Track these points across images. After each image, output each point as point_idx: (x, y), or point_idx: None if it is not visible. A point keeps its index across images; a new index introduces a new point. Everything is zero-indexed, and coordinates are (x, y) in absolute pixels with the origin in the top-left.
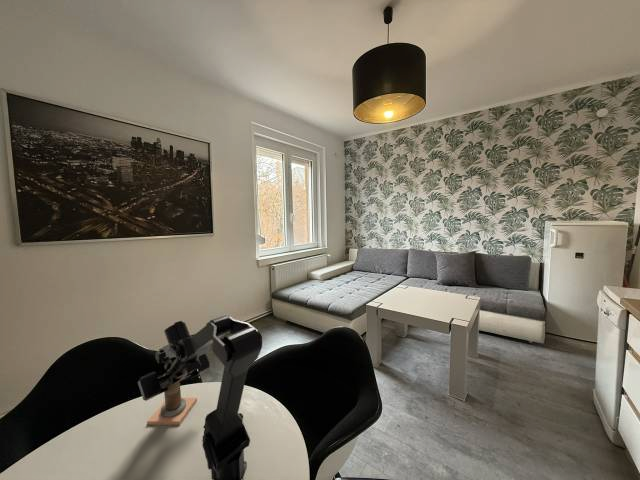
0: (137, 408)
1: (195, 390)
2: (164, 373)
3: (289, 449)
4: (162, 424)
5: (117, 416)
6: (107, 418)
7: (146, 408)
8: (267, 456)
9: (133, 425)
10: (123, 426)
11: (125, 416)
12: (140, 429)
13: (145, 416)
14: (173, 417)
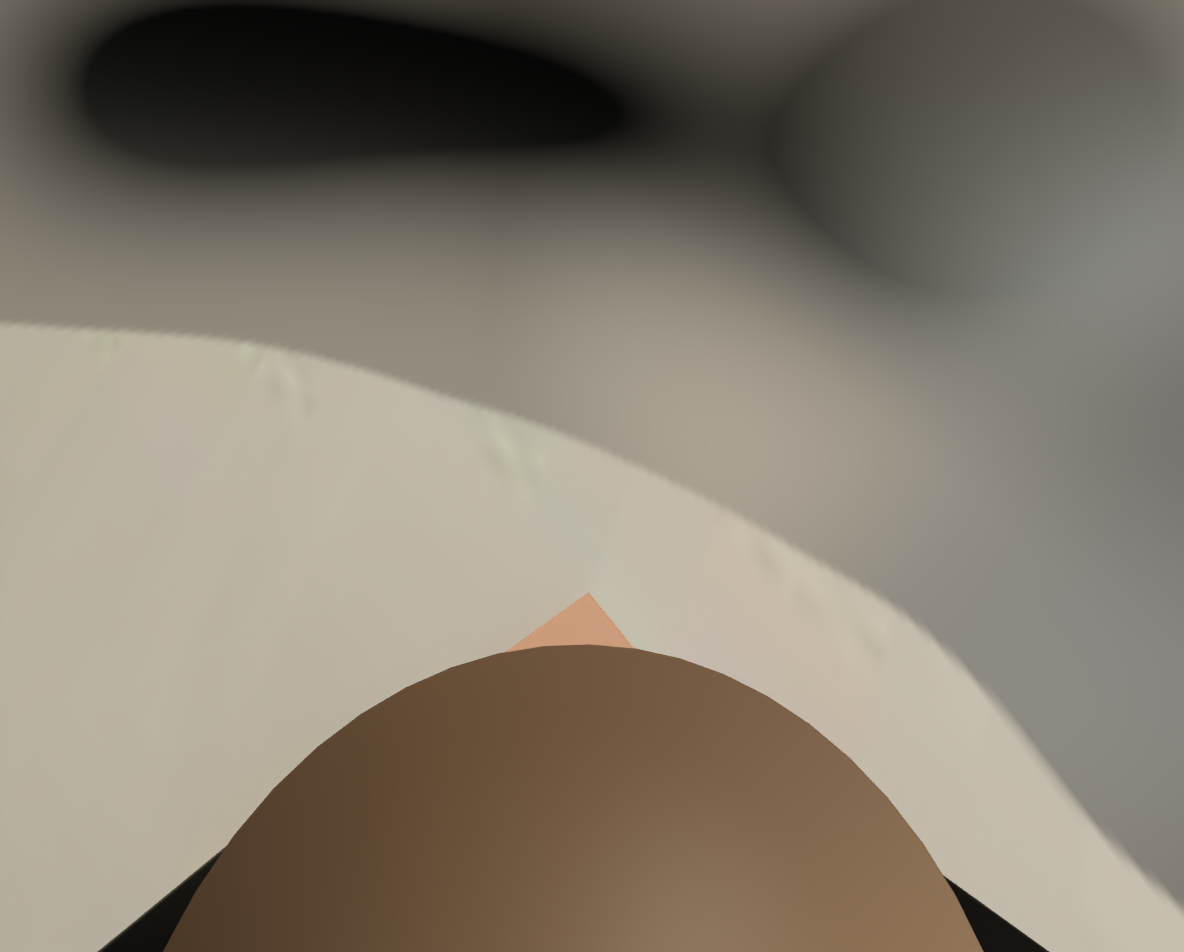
0: (300, 457)
1: (919, 703)
2: (351, 727)
3: None
4: None
5: (119, 420)
6: (55, 373)
7: (356, 538)
8: None
9: (102, 736)
10: (40, 647)
11: (158, 486)
12: (92, 916)
13: (273, 683)
14: None
